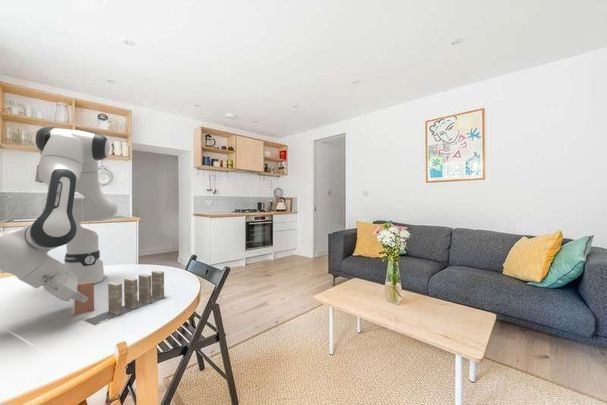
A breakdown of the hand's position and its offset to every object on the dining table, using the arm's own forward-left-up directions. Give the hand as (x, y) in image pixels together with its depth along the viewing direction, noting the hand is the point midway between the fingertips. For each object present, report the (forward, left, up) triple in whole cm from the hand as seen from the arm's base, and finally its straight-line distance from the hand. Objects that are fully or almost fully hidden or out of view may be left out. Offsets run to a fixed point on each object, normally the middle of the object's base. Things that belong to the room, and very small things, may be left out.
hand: (86, 296), depth 86 cm
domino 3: (+10, +14, -5) cm, 18 cm away
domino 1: (+10, +4, -5) cm, 12 cm away
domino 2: (+10, +9, -5) cm, 14 cm away
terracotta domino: (0, 0, -5) cm, 6 cm away
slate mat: (+10, +8, -5) cm, 14 cm away
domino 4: (+10, +19, -5) cm, 22 cm away
